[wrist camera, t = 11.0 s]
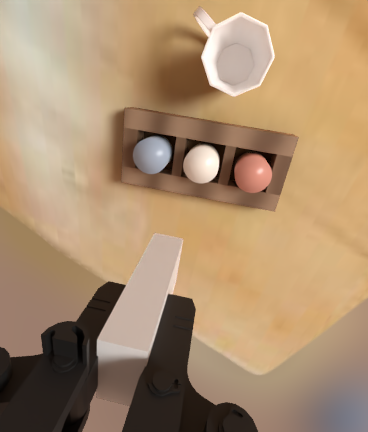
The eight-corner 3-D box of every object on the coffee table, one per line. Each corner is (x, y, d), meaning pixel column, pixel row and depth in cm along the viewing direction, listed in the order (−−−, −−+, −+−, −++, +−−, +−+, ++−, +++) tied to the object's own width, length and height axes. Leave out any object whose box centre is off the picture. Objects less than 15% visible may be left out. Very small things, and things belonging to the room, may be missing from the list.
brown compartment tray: (128, 176, 41) (121, 182, 38) (132, 107, 36) (124, 107, 34) (271, 203, 39) (274, 211, 36) (293, 134, 35) (298, 137, 32)
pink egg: (230, 180, 37) (231, 189, 33) (238, 148, 35) (239, 154, 31) (262, 186, 36) (266, 195, 33) (271, 154, 35) (276, 161, 31)
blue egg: (140, 163, 38) (131, 170, 34) (143, 132, 36) (134, 136, 32) (170, 169, 37) (165, 176, 34) (174, 137, 36) (169, 142, 32)
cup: (231, 109, 35) (232, 112, 27) (178, 46, 33) (164, 31, 25) (276, 66, 32) (290, 56, 25) (222, -5, 30) (220, -39, 23)
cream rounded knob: (185, 172, 37) (180, 179, 34) (190, 140, 35) (186, 145, 32) (216, 177, 37) (214, 186, 33) (222, 146, 35) (222, 151, 31)
